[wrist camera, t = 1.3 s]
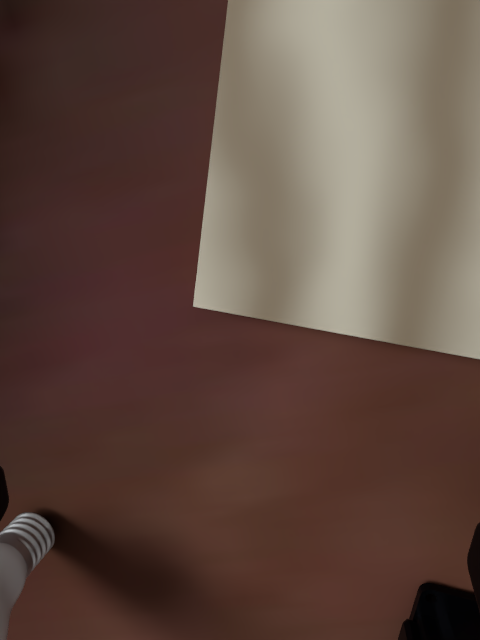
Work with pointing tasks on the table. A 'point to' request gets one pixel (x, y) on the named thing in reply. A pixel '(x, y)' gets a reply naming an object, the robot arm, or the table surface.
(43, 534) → the lightbulb
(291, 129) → the board
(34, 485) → the table surface
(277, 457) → the table surface
